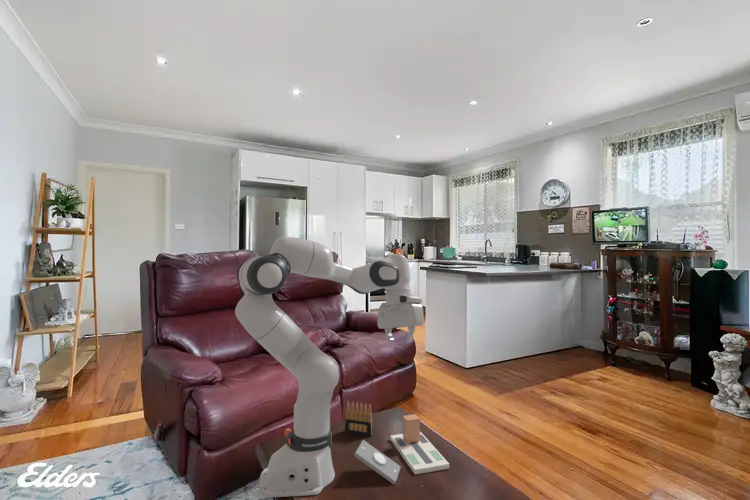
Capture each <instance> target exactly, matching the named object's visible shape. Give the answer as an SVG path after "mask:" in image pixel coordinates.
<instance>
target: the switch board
mask: <svg viewBox="0 0 750 500" xmlns="http://www.w3.org/2000/svg"><path fill="white" fill-rule="evenodd" d="M389 437H390V439H389V440H390V441H391V442H392V444H393V446H394V447H395V449H396V450H397V451H398V453H399V454H400V456H401V457H402V458H403V460H404V461H405V463H406V464H407V466H408V467H409V468H410V469H411V471H412V472H413V475H420V474H427V473H432V472H437V471H442V470H443V471H445V470H448V469H450V463H449V462H448V461H447V460H446V458H445V457H444V455H442V453H440V451H439V450H438V449H437V448H436V447H435V446H434V444H433V443H432V442H431V441H430V440H429V439H428V438H427V436H425V435H424V434H423V433H422V432H421V431H420V441H418V442H411V443H406V442H405V440H404V439H403V433H399V434H398V433H397V434H393V435H392V434H391V435H390V436H389Z"/></svg>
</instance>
